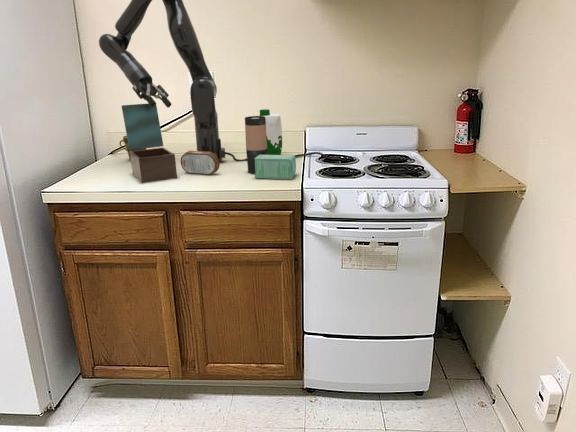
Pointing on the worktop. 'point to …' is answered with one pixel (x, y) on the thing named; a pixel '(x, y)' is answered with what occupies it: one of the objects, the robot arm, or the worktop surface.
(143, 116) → the lid
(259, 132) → the travel mug
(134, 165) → the chest
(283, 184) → the worktop surface
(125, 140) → the ceramic cup
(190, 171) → the tin
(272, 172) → the box
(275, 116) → the milk carton
